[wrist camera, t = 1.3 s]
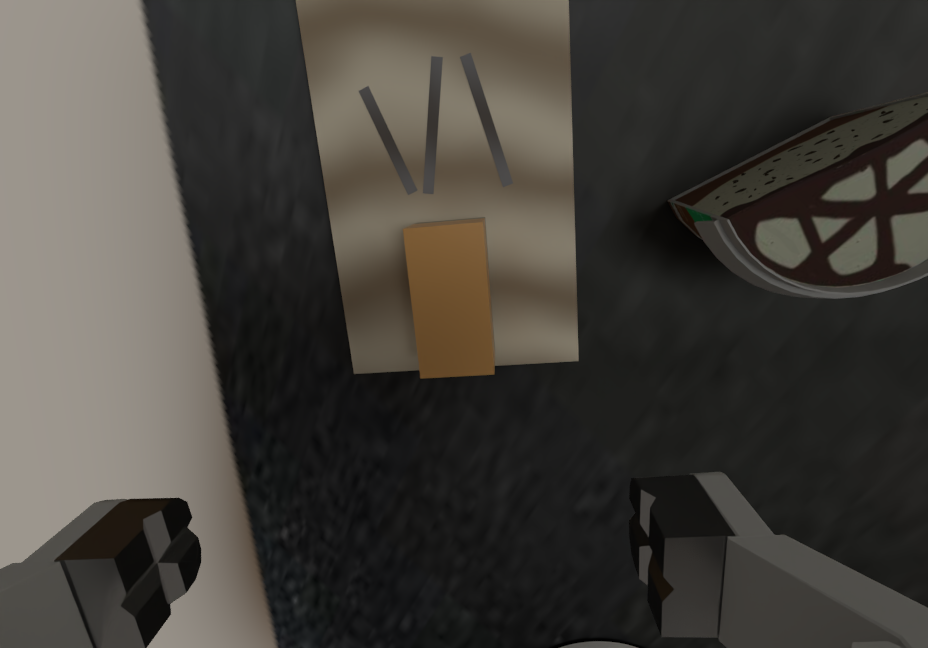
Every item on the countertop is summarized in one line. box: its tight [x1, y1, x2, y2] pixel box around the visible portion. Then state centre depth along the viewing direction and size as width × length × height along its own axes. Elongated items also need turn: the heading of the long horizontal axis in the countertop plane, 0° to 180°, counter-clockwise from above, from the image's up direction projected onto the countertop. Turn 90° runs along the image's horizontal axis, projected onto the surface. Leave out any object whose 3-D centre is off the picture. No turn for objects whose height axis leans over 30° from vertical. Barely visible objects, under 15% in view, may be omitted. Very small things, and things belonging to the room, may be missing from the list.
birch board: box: [296, 0, 579, 374], centre depth 28 cm, size 22×14×2 cm, turn 5°
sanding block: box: [403, 217, 495, 379], centre depth 27 cm, size 8×4×4 cm, turn 5°
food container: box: [667, 92, 928, 298], centre depth 24 cm, size 12×6×10 cm, turn 118°
